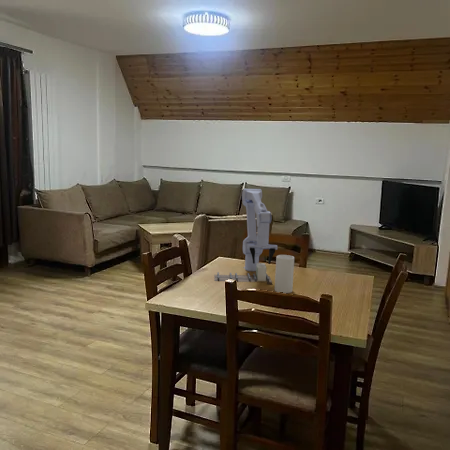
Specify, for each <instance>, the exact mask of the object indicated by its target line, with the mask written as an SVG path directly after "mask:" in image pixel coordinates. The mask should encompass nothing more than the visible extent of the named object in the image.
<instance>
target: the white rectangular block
mask: <svg viewBox="0 0 450 450" xmlns="http://www.w3.org/2000/svg"><path fill="white" fill-rule="evenodd" d="M266 274H267V266H266V263H264V262H263V263H262V262H259V263H257V265H256V271H255V276H256V278H257V281H266Z"/></svg>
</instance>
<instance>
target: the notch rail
mask: <svg viewBox="0 0 450 450" xmlns="http://www.w3.org/2000/svg"><path fill="white" fill-rule="evenodd" d="M216 273H217V274H214V275H213V276H214V277H213V278H214V280H213V281H214V282H226V281H225V280H228V279H233V280H236V281H237V282H239V283H241V282H242V283H266V285H273V281H272V278H271V276H270V275H269V274H268V273H266V281H257V278H256V272H254V273H252V275H250V273H247V275H243V274H241V275H240V274H238V273H237V272H234V274H232V272H229V274H220V272H219V271H217V272H216ZM237 282H236V283H237Z"/></svg>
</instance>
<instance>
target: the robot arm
mask: <svg viewBox="0 0 450 450" xmlns="http://www.w3.org/2000/svg"><path fill="white" fill-rule="evenodd" d="M262 199H263V191H262V189H261V188H245V187H244V188H243V189H242V192H241V200H242V201H241V202H242V205H243V206H244V207H245V210H246V212H245V213H246V227H247V228H246V229H247V230H246V231H247V237H246V238H244V239H243V241H242V254H243V255H245V258H244V267H243V269H244V270H245V271H247V272H256V265H257V263H260V256H261V255H262V253H263V251H264V250H268V261H267V263H268V264H269V265H270V264H271V261H272V259H273V257H274V254H275V253H276V251H277V250H278V245H277V244H269V240H270V239H269V238H270V224H271V222H272V219H273V218H272V212H271V211H269V210H268V208H267V207H266V205H265V203H263V202H262Z"/></svg>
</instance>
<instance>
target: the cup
mask: <svg viewBox="0 0 450 450" xmlns="http://www.w3.org/2000/svg"><path fill="white" fill-rule="evenodd" d="M275 257H276V258H275V259H276V260H275V261H276V262H275V271H274V273H275V275H274V291H275V292H276V293H279V292H283V293H282V294H290V293H292V292H293V284H294V269H295V256H293V255H289V254H288V255H287V254H278V255H276V256H275Z"/></svg>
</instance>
